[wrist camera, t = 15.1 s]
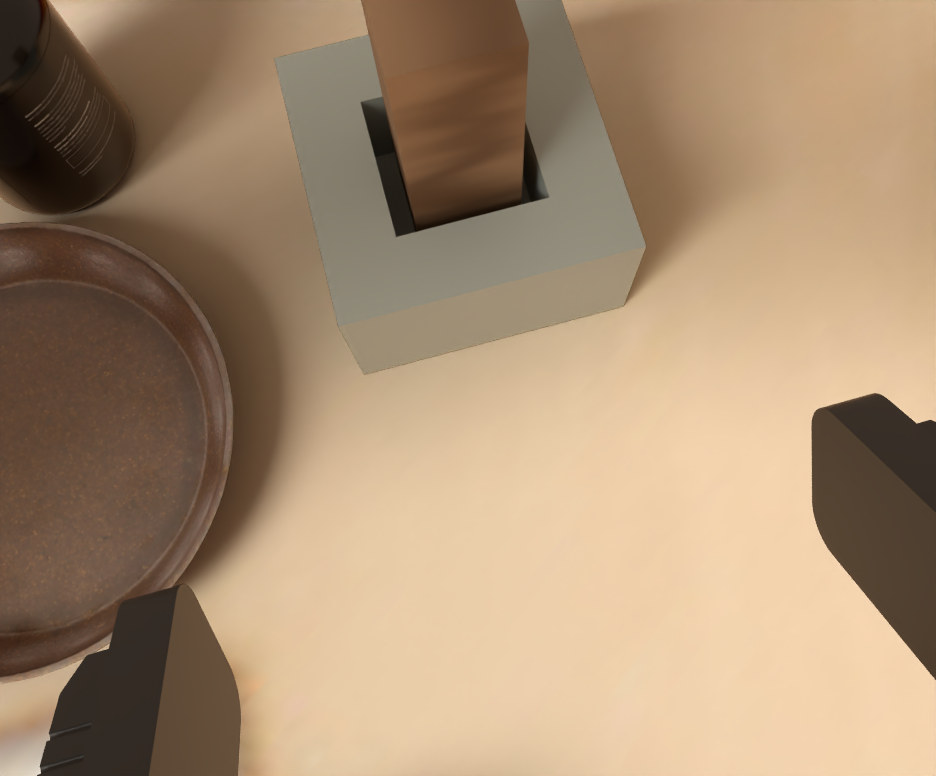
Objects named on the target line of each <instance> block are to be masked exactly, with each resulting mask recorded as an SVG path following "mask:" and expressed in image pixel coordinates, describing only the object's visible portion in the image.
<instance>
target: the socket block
mask: <svg viewBox="0 0 936 776" xmlns="http://www.w3.org/2000/svg"><path fill="white" fill-rule="evenodd" d="M515 1H516V4H517V7H518V10H519V13H520V16H521V19H522V22H523V26H524V29H525V32H526V35H527V38H528V41H529V53H528V74H527V95H526V115H525V136H524V157H523V177H522V198H521V205H518V206H515V207H511V208H507V209H503V210H499V211H495V212H491V213H487V214H484V215H480V216H476V217H472V218H468V219H464V220H460V221H456V222H453V223H449V224H445V225H441V226H437V227H433V228H429V229H425V230H422V231H418V232H416V231H415V228H414V224H413V220H412V217H411V213H410V209H409V206H408V202H407V198H406V194H405V191H404V187H403V183H402V180H401V176H400V172H399V168H398V164H397V159H396V155H395V150H394V146H393V141H392V137H391V132H390V128H389V123H388V119H387V114H386V110H385V105H384V101H383V96H382V92H381V87H380V83H379V78H378V74H377V69H376V65H375V60H374V56H373V51H372V47H371V42H370V38H369V35H366V36H362V37H358V38H354V39H350V40H346V41H342V42H338V43H334V44H330V45H326V46H322V47H318V48H314V49H310V50H306V51H302V52H298V53H294V54H290V55H286V56H282V57H278V58H274V60H275V64H276V68H277V72H278V76H279V81H280V85H281V89H282V93H283V97H284V102H285V106H286V110H287V114H288V118H289V123H290V127H291V131H292V135H293V139H294V143H295V148H296V152H297V156H298V160H299V164H300V169H301V173H302V177H303V181H304V185H305V190H306V194H307V198H308V202H309V206H310V210H311V215H312V219H313V223H314V227H315V231H316V236H317V240H318V244H319V248H320V252H321V257H322V261H323V265H324V269H325V273H326V277H327V282H328V286H329V290H330V294H331V298H332V303H333V307H334V311H335V315H336V319H337V324H338V327H339V329H340V331H341V333H342V335H343V337H344V338H345V340H346V342H347V344H348V346H349V348H350V350H351V351H352V353H353V355H354V357H355V359H356V361H357V363H358V364H359V366H360V368H361V370H362V372H363V374H364V375H365V374H368V373H372V372H376V371H380V370H384V369H387V368H391V367H395V366H399V365H403V364H406V363H410V362H414V361H418V360H422V359H425V358H429V357H433V356H437V355H441V354H444V353H448V352H452V351H456V350H460V349H463V348H467V347H471V346H475V345H479V344H482V343H486V342H490V341H494V340H498V339H501V338H505V337H509V336H513V335H517V334H520V333H524V332H528V331H532V330H536V329H539V328H543V327H547V326H551V325H555V324H558V323H562V322H566V321H570V320H574V319H577V318H581V317H585V316H589V315H593V314H596V313H600V312H604V311H608V310H612V309H615V308H619V307H623V306H624V304H625V301H626V298H627V296H628V293H629V291H630V288H631V285H632V283H633V280H634V277H635V275H636V272H637V269H638V267H639V264H640V262H641V259H642V256H643V254H644V251H645V248H646V244H645V241H644V238H643V235H642V232H641V229H640V227H639V224H638V221H637V218H636V215H635V212H634V209H633V206H632V203H631V200H630V198H629V195H628V192H627V189H626V186H625V183H624V180H623V177H622V174H621V172H620V169H619V166H618V163H617V160H616V157H615V154H614V151H613V148H612V145H611V143H610V140H609V137H608V134H607V131H606V128H605V125H604V122H603V119H602V116H601V114H600V111H599V108H598V105H597V102H596V99H595V96H594V93H593V90H592V87H591V85H590V82H589V79H588V76H587V73H586V70H585V67H584V64H583V61H582V58H581V56H580V53H579V50H578V47H577V44H576V41H575V38H574V35H573V32H572V29H571V27H570V24H569V21H568V18H567V15H566V12H565V9H564V6H563V3H562V1H561V0H515Z"/></svg>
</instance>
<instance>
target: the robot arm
mask: <svg viewBox="0 0 936 776" xmlns="http://www.w3.org/2000/svg"><path fill="white" fill-rule="evenodd" d="M812 505H813V513H814V517H815V521H816V524H817V527H818V530H819V532H820V534H821V537H822V539H823V541H824V542H825V544H826V546H827V548H828V549H829V550H830V552H831V553H832V554H833V556H834V557H835V558H836V559H837V561H838V562H839V563H840V564H841V565H842V567H843V568H844V569H845V570H846V571H847V573H848V574H849V575H850V576H851V578H852V579H853V580H854V581H855V582H856V584H857V585H858V586H859V587H860V588H861V590H862V591H863V592H864V593H865V595H866V596H867V597H868V598H869V599H870V601H871V602H872V603H873V604H874V606H875V607H876V608H877V609H878V610H879V612H880V613H881V614H882V615H883V616H884V618H885V619H886V620H887V621H888V623H889V624H890V625H891V626H892V627H893V629H894V630H895V631H896V632H897V633H898V635H899V636H900V637H901V638H902V640H903V641H904V642H905V643H906V644H907V646H908V647H909V648H910V649H911V651H912V652H913V653H914V654H915V655H916V657H917V658H918V659H919V660H920V661H921V663H922V664H923V665H924V666H925V668H926V669H927V670H928V671H929V672H930V674H931V675H932V676H933V677H934V678H935V680H936V422H935V421H932V420H928V421H925V422H921V423H917V424H916V423H915V422H914V421H913V420H912V419H911V418H909V417H908V416H907V415H906V414H905V413H903V412H902V411H901V410H900V409H899V408H898V407H896V406H895V405H894V404H893V403H892V402H891V401H889V400H888V399H887V398H886V397H884V396H882V395H880V394H876V393H874V394H870V395H866V396H862V397H859V398H855V399H852V400H848V401H844V402H841V403H837V404H834V405H830V406H827V407H823V408H819V409H818V410H816V411H815V413H814V415H813V418H812ZM240 726H241V710H240V701H239V694H238V689H237V685H236V681H235V678H234V675H233V672H232V670H231V667H230V665H229V663H228V661H227V659H226V657H225V655H224V653H223V651H222V649H221V647H220V645H219V643H218V641H217V639H216V637H215V635H214V633H213V631H212V629H211V627H210V625H209V623H208V621H207V618H206V616H205V614H204V612H203V610H202V608H201V606H200V604H199V602H198V600H197V598H196V596H195V594H194V593H193V591H192V590H191V588H190V587H189V586H187V585H186V584H181V585H178V586H174V587H171V588H167V589H163V590H160V591H156V592H153V593H149V594H145V595H142V596H138V597H135V598H131V599H128V600H125V601H123V602H122V603H121V604H120V606H119V608H118V612H117V616H116V620H115V625H114V629H113V633H112V637H111V642H110V646H109V649H107V650H103V651H100V652H96V653H93V654H89V655H87V656H86V657H85V659H84V660H83V661H82V663H81V664H80V666H79V667H78V669H77V670H76V672H75V673H74V674H73V676H72V677H71V679H70V680H69V682H68V683H67V685H66V686H65V687H64V689H63V690H62V692H61V693H60V696H59V699H58V703H57V706H56V710H55V714H54V717H53V721H52V724H51V728H50V731H49V735H50V741H47V742H46V746H45V749H44V753H43V756H42V760H41V764H40V768H41V774H39V775H37V776H238V763H239V744H240Z"/></svg>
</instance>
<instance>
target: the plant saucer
mask: <svg viewBox="0 0 936 776" xmlns="http://www.w3.org/2000/svg"><path fill="white" fill-rule="evenodd" d="M232 446H233V403H232V394H231V388H230V382H229V377H228V372H227V368H226V364H225V361H224V358H223V354H222V351H221V349H220V346H219V344H218V341H217V339H216V337H215V334H214V332H213V330H212V328H211V326H210V324H209V322H208V320H207V319H206V317H205V315H204V314H203V312H202V310H201V309H200V308H199V306H198V305H197V303H196V302H195V300H194V299H193V298H192V297H191V295H190V294H189V293H188V292H187V291H186V289H185V288H184V287H183V286H182V285H181V284H180V283H179V282H178V281H177V280H176V279H175V278H174V277H173V276H172V275H171V274H170V273H169V272H168V271H166V270H165V269H164V268H163V267H162V266H161V265H159V264H158V263H156V262H155V261H154V260H152V259H151V258H150V257H149V256H147V255H145V254H144V253H142V252H140V251H139V250H137V249H135V248H133V247H132V246H130V245H128V244H126V243H124V242H122V241H120V240H118V239H116V238H113V237H110V236H108V235H105V234H102V233H99V232H96V231H93V230H90V229H86V228H82V227H77V226H72V225H66V224H57V223H46V222H22V223H8V224H0V684H3V683H9V682H14V681H20V680H25V679H29V678H33V677H37V676H40V675H43V674H46V673H49V672H52V671H55V670H58V669H61V668H63V667H66V666H68V665H70V664H72V663H75V662H77V661H79V660H81V659H83V658H85V657H86V656H87V655H89V654H93V653H95V652H96V651H98V650H100V649H101V648H103V647H104V646H106V645H108V644H109V643H110V642H111V637H112V633H113V629H114V625H115V620H116V616H117V612H118V608H119V606H120V604H121V603H122V602H123V601H125V600H128V599H131V598H135V597H138V596H142V595H145V594H149V593H153V592H156V591H160V590H163V589H167V588H171V587H173V585H174V584H175V583H176V581H177V580H178V579H179V578H180V576H181V575H182V574H183V572H184V571H185V569H186V568H187V566H188V565H189V563H190V562H191V561H192V559H193V558H194V556H195V554H196V553H197V551H198V549H199V547H200V546H201V544H202V542H203V540H204V539H205V536H206V534H207V532H208V530H209V528H210V526H211V524H212V521H213V519H214V517H215V514H216V512H217V509H218V506H219V504H220V501H221V498H222V495H223V492H224V489H225V485H226V481H227V476H228V472H229V467H230V461H231V455H232Z"/></svg>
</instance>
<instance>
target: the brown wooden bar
mask: <svg viewBox="0 0 936 776" xmlns="http://www.w3.org/2000/svg"><path fill="white" fill-rule="evenodd" d="M361 1H362V6H363V10H364V15H365V19H366V24H367V28H368V33H369V38H370V42H371V47H372V51H373V56H374V60H375V65H376V69H377V74H378V78H379V83H380V87H381V92H382V96H383V101H384V105H385V110H386V114H387V119H388V123H389V128H390V132H391V137H392V141H393V146H394V150H395V155H396V159H397V164H398V168H399V172H400V176H401V180H402V183H403V187H404V191H405V194H406V198H407V202H408V206H409V209H410V213H411V217H412V220H413V224H414V228H415V231H416V232H418V231H422V230H425V229H429V228H433V227H437V226H441V225H445V224H449V223H453V222H456V221H460V220H464V219H468V218H472V217H476V216H480V215H484V214H487V213H491V212H495V211H499V210H503V209H507V208H511V207H515V206H518V205H521V198H522V177H523V157H524V136H525V115H526V95H527V74H528V53H529V41H528V38H527V35H526V32H525V29H524V26H523V22H522V19H521V16H520V13H519V10H518V7H517V4H516V1H515V0H361Z"/></svg>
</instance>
